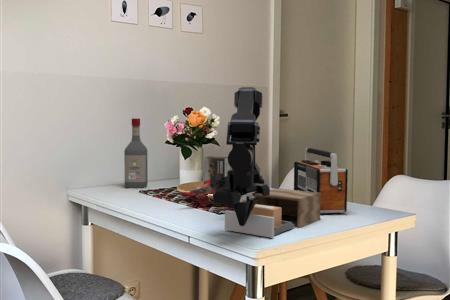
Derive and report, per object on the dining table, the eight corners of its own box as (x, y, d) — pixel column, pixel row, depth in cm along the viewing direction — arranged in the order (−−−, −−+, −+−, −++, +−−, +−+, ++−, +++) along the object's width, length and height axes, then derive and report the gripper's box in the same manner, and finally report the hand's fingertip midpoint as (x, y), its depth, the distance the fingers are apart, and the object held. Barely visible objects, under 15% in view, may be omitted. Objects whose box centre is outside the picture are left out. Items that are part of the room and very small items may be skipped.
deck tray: (272, 237, 126) (272, 217, 125) (224, 229, 134) (224, 210, 134) (297, 227, 137) (297, 209, 137) (252, 220, 146) (252, 203, 145)
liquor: (145, 188, 210) (144, 118, 208) (123, 188, 210) (123, 118, 207) (148, 185, 219) (147, 118, 217) (127, 185, 219) (127, 118, 217)
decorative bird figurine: (221, 205, 173) (222, 176, 172) (180, 210, 162) (180, 180, 161) (216, 203, 175) (217, 176, 174) (175, 209, 164) (175, 179, 163)
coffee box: (231, 199, 185) (232, 156, 184) (224, 202, 179) (225, 158, 178) (210, 197, 189) (210, 155, 187) (202, 200, 183) (202, 157, 182)
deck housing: (299, 228, 138) (299, 199, 138) (254, 221, 147) (254, 193, 146) (320, 219, 150) (320, 192, 149) (277, 213, 158) (277, 188, 158)
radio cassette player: (292, 200, 184) (293, 147, 182) (319, 200, 185) (320, 147, 184) (317, 216, 155) (319, 153, 153) (349, 215, 156) (350, 153, 155)
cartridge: (245, 223, 137) (245, 205, 137) (253, 221, 141) (254, 203, 141) (273, 228, 132) (273, 209, 132) (281, 225, 136) (281, 207, 135)
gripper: (236, 161, 139) (236, 215, 140) (195, 167, 124) (195, 228, 125) (271, 164, 132) (270, 221, 134) (231, 170, 117) (231, 234, 118)
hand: (242, 225), depth 128 cm, fingers closed
